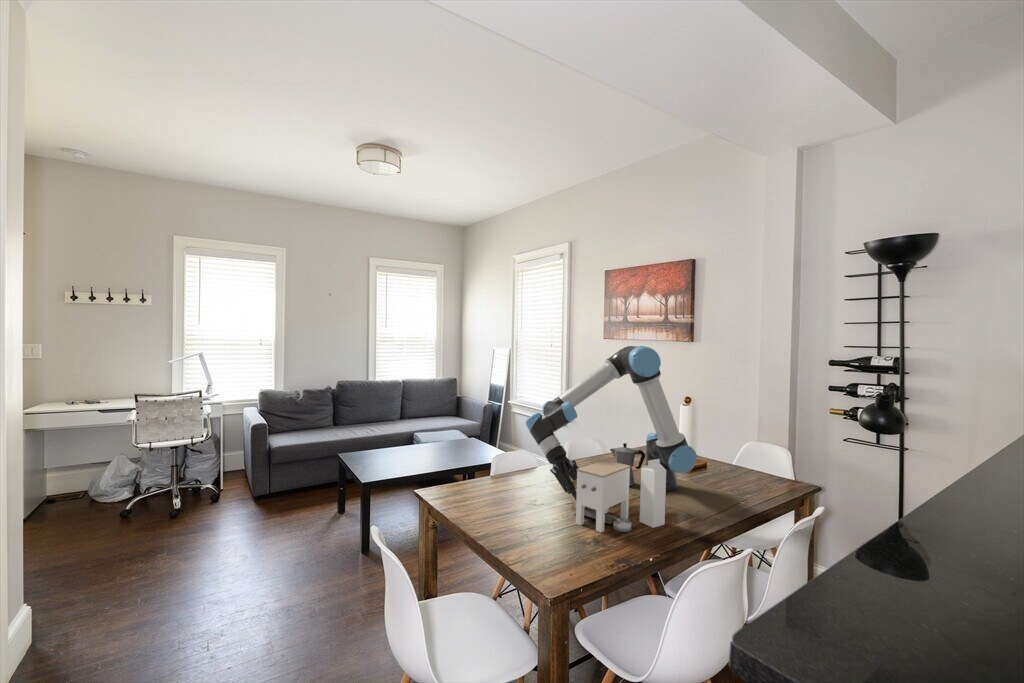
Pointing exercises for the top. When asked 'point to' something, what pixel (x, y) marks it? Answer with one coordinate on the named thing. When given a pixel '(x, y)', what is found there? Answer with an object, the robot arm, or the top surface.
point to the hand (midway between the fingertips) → (588, 505)
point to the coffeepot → (628, 458)
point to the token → (622, 524)
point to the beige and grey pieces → (589, 511)
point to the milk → (653, 494)
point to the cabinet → (602, 490)
